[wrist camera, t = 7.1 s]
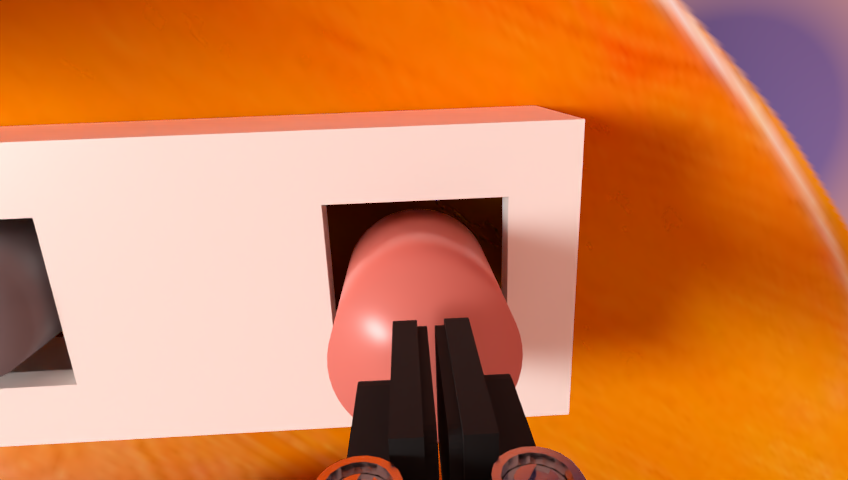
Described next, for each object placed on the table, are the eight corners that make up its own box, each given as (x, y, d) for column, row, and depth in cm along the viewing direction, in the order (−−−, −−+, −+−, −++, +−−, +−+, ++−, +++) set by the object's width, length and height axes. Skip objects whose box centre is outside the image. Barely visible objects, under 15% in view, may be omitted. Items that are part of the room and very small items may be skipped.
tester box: (528, 332, 24) (568, 414, 19) (-15, 361, 24) (-148, 455, 18) (535, 105, 21) (585, 118, 16) (-90, 129, 21) (-278, 153, 15)
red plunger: (486, 334, 19) (520, 438, 13) (353, 341, 19) (335, 449, 13) (487, 205, 17) (525, 265, 12) (343, 211, 17) (317, 275, 12)
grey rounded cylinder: (132, 304, 22) (49, 378, 17) (18, 310, 22) (-101, 386, 17) (108, 195, 21) (10, 238, 16) (-14, 201, 21) (-155, 246, 15)
